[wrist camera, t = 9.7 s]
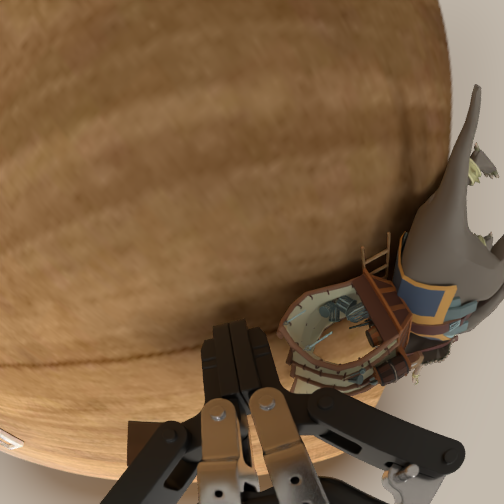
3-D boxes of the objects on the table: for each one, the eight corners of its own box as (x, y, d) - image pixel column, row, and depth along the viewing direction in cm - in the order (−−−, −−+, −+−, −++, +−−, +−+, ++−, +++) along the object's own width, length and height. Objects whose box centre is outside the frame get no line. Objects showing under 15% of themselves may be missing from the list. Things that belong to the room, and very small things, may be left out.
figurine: (509, 334, 14) (336, 448, 17) (471, 286, 19) (315, 389, 22) (564, 77, 2) (92, 398, 6) (445, 44, 7) (118, 259, 10)
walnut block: (128, 421, 20) (126, 465, 16) (177, 423, 20) (180, 469, 17) (140, 436, 22) (140, 475, 18) (183, 438, 23) (186, 477, 19)
